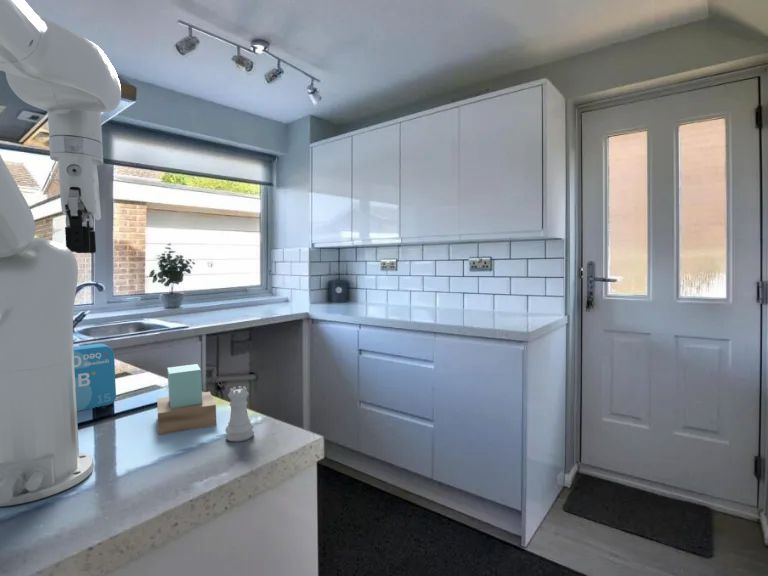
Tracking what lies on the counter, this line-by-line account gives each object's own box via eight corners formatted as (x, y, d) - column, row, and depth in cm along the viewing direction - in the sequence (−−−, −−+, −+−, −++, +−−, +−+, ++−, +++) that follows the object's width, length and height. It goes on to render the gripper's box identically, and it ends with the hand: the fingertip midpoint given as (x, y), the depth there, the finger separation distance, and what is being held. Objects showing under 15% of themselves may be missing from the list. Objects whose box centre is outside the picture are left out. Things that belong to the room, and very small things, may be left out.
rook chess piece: (221, 436, 72) (219, 388, 71) (247, 429, 75) (246, 383, 74) (231, 445, 68) (229, 394, 68) (258, 437, 71) (257, 388, 71)
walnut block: (216, 427, 77) (215, 404, 77) (158, 437, 73) (157, 413, 73) (210, 412, 85) (209, 391, 85) (157, 420, 81) (157, 398, 81)
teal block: (202, 403, 78) (200, 369, 77) (171, 408, 75) (169, 373, 75) (199, 395, 82) (197, 363, 82) (169, 400, 80) (167, 367, 79)
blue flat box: (42, 418, 81) (38, 354, 80) (39, 412, 85) (35, 350, 84) (116, 403, 89) (113, 345, 89) (111, 398, 93) (108, 342, 92)
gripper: (98, 142, 70) (103, 251, 71) (106, 164, 85) (111, 253, 86) (38, 137, 66) (45, 251, 67) (58, 160, 82) (64, 253, 83)
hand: (82, 252), depth 77 cm, fingers open, 9 cm apart
